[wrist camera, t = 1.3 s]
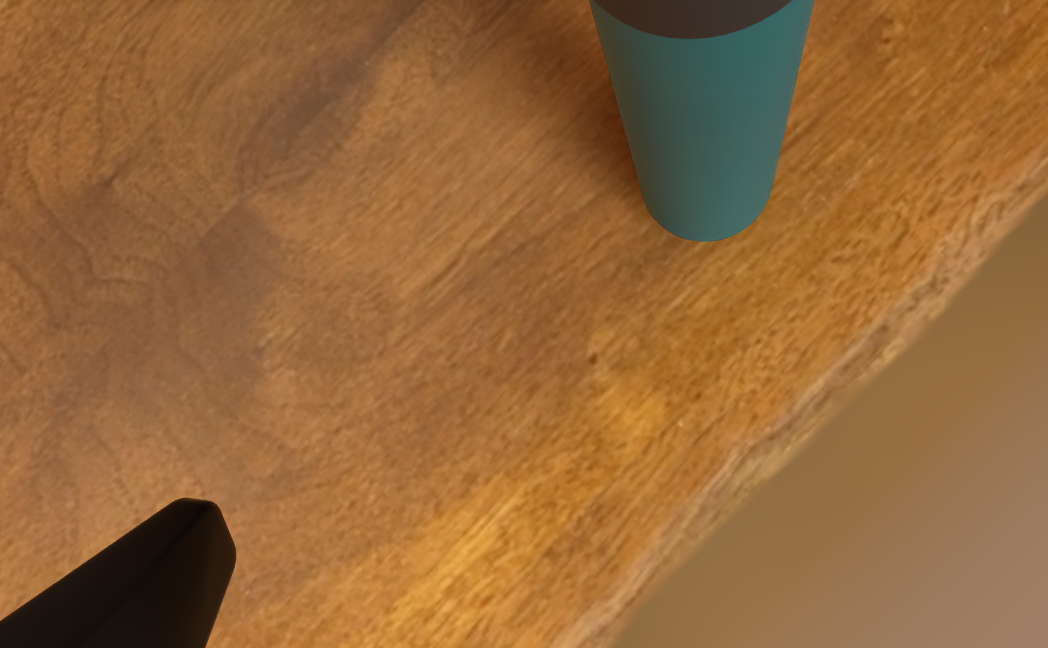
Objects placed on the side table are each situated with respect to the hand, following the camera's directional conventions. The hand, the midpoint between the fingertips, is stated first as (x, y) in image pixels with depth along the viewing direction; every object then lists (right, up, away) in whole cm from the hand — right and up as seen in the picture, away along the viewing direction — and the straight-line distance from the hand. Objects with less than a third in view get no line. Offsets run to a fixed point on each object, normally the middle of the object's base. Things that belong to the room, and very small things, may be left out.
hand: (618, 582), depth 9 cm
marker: (+4, +6, +14) cm, 16 cm away
